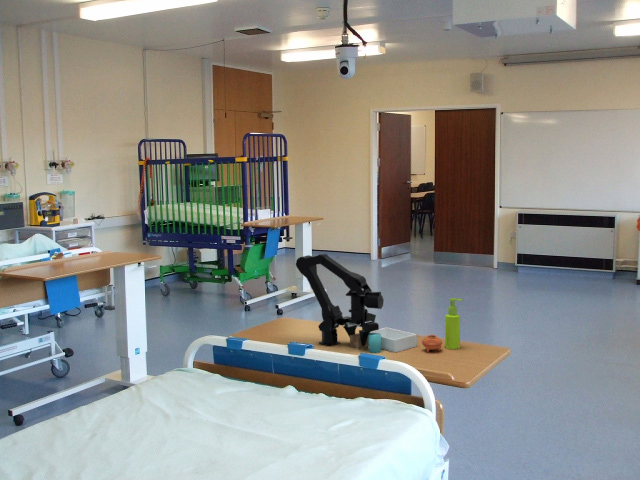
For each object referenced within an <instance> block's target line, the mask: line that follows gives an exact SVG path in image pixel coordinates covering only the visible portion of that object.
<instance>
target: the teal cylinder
mask: <svg viewBox="0 0 640 480" xmlns="http://www.w3.org/2000/svg"><path fill="white" fill-rule="evenodd" d="M368 342H369V346H368V353H371V354H380V353H382V349H381V334H380V333H369V334H368Z"/></svg>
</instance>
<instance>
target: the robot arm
mask: <svg viewBox="0 0 640 480" xmlns="http://www.w3.org/2000/svg"><path fill="white" fill-rule="evenodd" d="M317 265H321V266H323V268H325V269H326V270H328V271H330V272H331V273H332V274H333V275H335V276H337V277H338V278H339V279H341V281H342V282H343V283H344V284H345V286H346V287H347V288H348V289H349V290H348V291H347V292H346V293H345V296H347V297H350V309H348V312H349V313H350V316H348V315H347V316H343V312H342V311H341V307H340V306H339V305H336V306H335V305H334V304H333V303H332V301H331V300H330V298H329V295H328V293H327V291H326V288H325V287H324V285H323V283H322V280H321V279H320V277H319V275H318V269H317ZM295 267H296V268H297V270H298V271H299V273H300V274H301V275H302V276H304V277H305V278H306V280H307V282H308V284H309V287H310V288H311V290H312V292H313V294H314V296H315V298H316V300H317V303H318V305H319V306H320V308H321V318H322V322H320V323H319V324H318V330H319V331H320V332H321V341H319V342H318V344H321V345H324V346H328V347H330V346H335V345H339V344H341V342H340V341H338V329H339V327H340V326H342V328H343V329H344V331H346V333H347V335H348V337H349V338H350V335H353V334H356V329H357V328H358V327H359V328H361V329H359V330H358V333H359V334H360V339H361V343H362V346H365V343H366V340H367V337H368V334H369V333H370V332H371V331H375V330H379V329H380V327H379V323H378V322H376V316H377V314H374V313H370V312H368V311H369V310H368V309H375V310H376V309H378V310H381V309H382V308H383V306H384V297H383V295H382V291H373V290H372V289H371V287H370V286H369V284H368V283H367V279H366V278H365V276H363V275H361V274H360V273H356V272H353V271H351V270H349V269H347V268H346V267H345V266H342V264H340V263H339V262H338V261H336V260H334V259H333V258H331V257H330V256H329V255H328V254H327V253H320V254H318V255H314V256H312V255H304V256H300V257H298V258H297V259H296V262H295ZM337 328H338V329H337Z"/></svg>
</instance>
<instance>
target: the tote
mask: <svg viewBox="0 0 640 480" xmlns="http://www.w3.org/2000/svg"><path fill="white" fill-rule="evenodd" d="M370 333H380V334H381V350H383V351H384V350H385V351H387V352H390V353H391V352H392V353H398V352H402V351H405V350H409V349H412V348H416V347H418V334H416V333H414V332H413V333H412V332H409V331H406V330H405V331H404V330H399V329H396V328H391V327H383V328H379V330H375V331H371V332H370ZM367 347H369V342H368V337H367Z"/></svg>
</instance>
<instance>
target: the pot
mask: <svg viewBox="0 0 640 480" xmlns="http://www.w3.org/2000/svg"><path fill="white" fill-rule="evenodd" d="M421 344H422V346H423V347H424V348H425V349H426V352H427V353H429V352H430V350H431V351H434V350H437V349H438V352H440V351H441V349H442V345H443V341H442V340H441V339H440V338H439V337H438V336H437V335H435V334H429V335H427V336H426V337H424V338H423V340H422V341H421Z"/></svg>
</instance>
